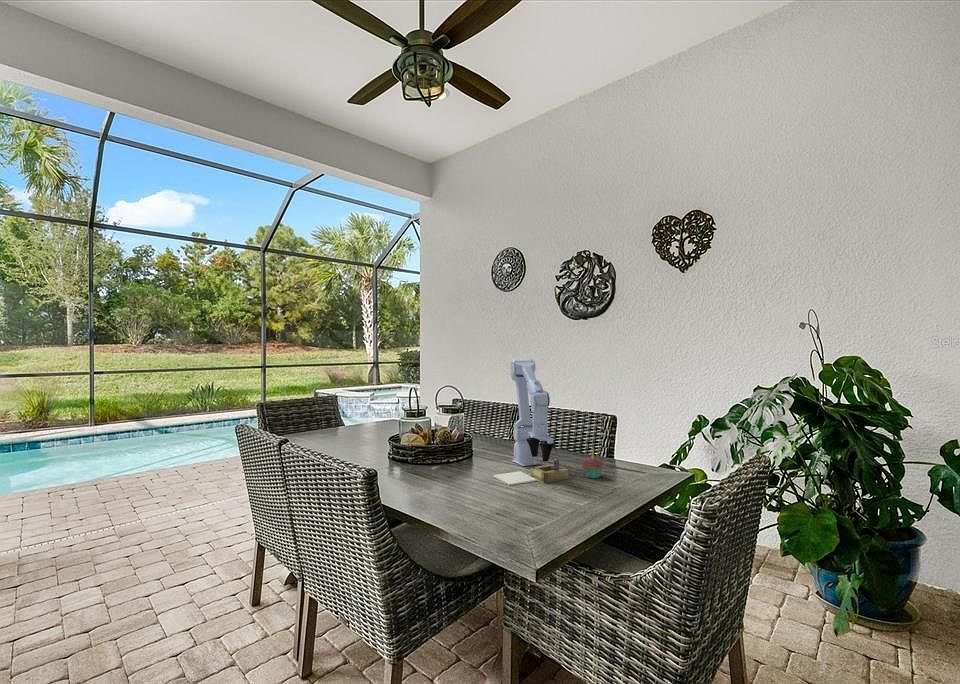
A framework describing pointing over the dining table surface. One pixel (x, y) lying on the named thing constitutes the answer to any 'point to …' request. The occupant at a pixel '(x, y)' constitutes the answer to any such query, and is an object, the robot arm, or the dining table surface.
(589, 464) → the cupcake
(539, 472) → the c link
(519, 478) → the coaster
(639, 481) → the dining table surface
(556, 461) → the post
